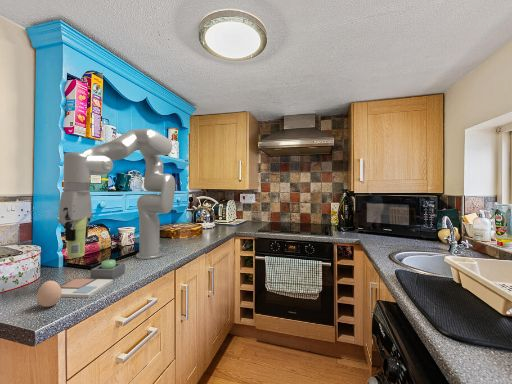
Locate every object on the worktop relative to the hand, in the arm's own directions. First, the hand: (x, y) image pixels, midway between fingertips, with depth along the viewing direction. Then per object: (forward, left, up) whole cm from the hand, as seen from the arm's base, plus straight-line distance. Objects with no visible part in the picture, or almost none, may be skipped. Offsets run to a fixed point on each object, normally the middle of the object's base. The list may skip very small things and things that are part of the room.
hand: (76, 238), depth 89 cm
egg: (+14, +2, -18) cm, 23 cm away
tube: (0, 0, -7) cm, 7 cm away
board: (+2, +3, -17) cm, 18 cm away
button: (-10, +5, -15) cm, 19 cm away
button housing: (-10, +5, -17) cm, 21 cm away
